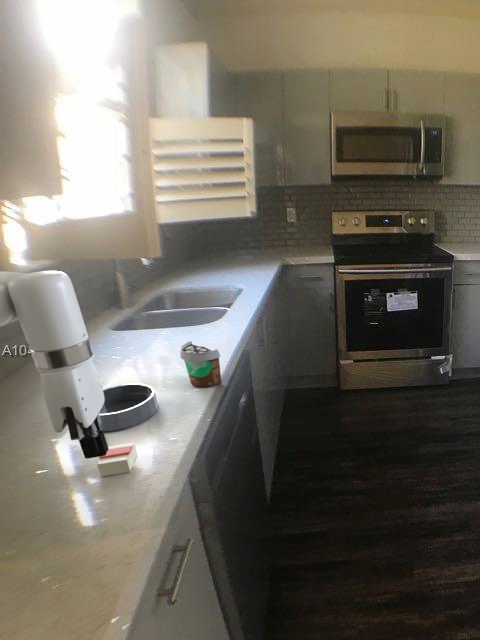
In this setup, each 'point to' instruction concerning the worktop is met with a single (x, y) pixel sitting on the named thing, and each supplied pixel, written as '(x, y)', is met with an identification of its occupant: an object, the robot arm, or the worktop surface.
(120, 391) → the pan
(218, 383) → the food container
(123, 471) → the block
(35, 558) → the worktop surface
